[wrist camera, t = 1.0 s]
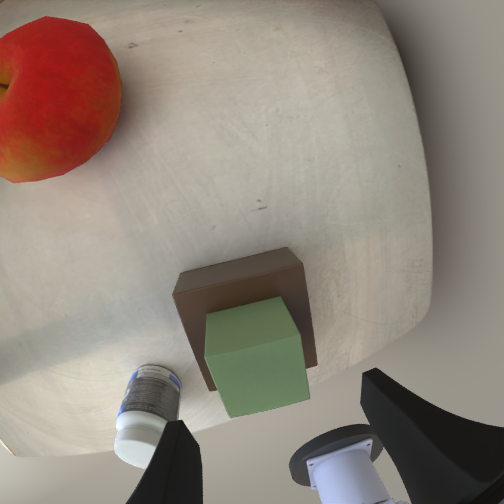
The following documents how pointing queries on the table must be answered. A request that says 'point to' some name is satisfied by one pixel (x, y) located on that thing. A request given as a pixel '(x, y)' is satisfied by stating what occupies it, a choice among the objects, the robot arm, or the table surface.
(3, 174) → the apple
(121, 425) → the pill bottle
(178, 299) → the walnut base
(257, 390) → the green block
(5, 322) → the table surface
